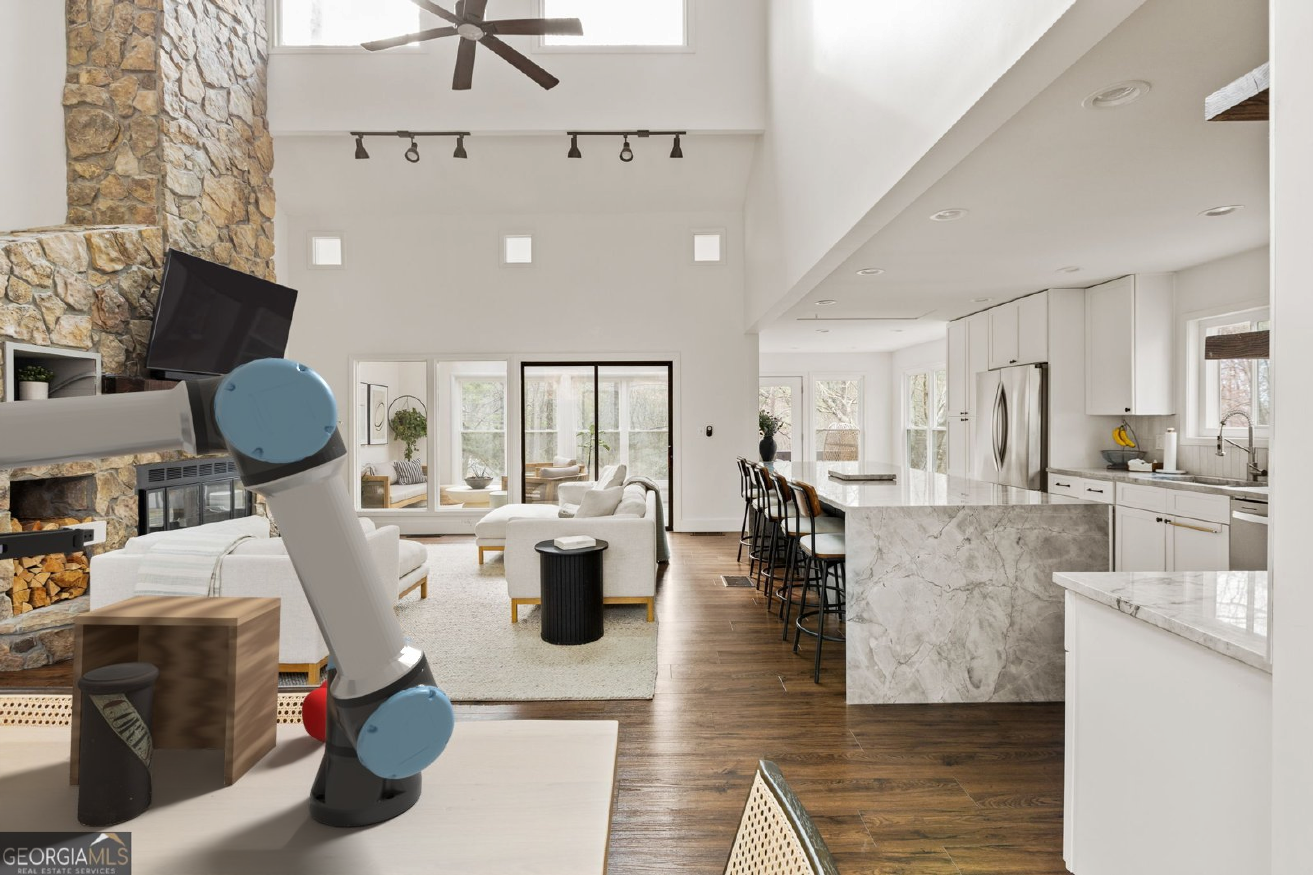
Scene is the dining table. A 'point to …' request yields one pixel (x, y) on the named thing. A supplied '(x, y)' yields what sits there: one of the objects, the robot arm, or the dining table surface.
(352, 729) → the robot arm
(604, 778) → the dining table surface
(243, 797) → the dining table surface
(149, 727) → the container
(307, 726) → the heart
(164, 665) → the cubby
